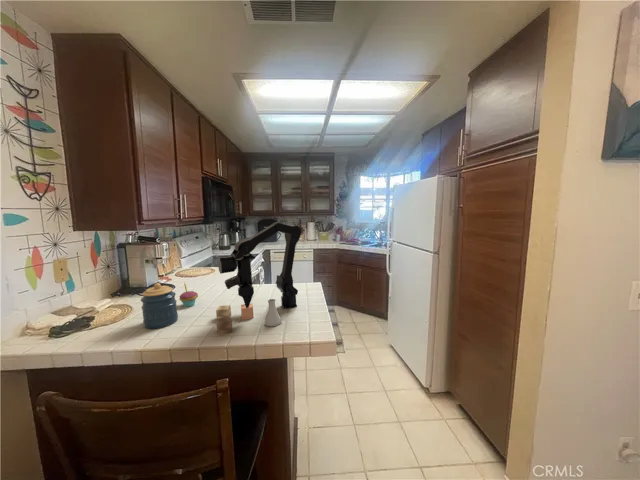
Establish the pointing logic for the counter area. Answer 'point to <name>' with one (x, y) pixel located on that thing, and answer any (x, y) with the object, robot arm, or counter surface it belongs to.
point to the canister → (159, 307)
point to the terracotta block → (247, 311)
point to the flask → (272, 314)
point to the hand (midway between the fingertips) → (247, 304)
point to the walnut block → (224, 325)
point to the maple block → (223, 311)
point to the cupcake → (188, 297)
